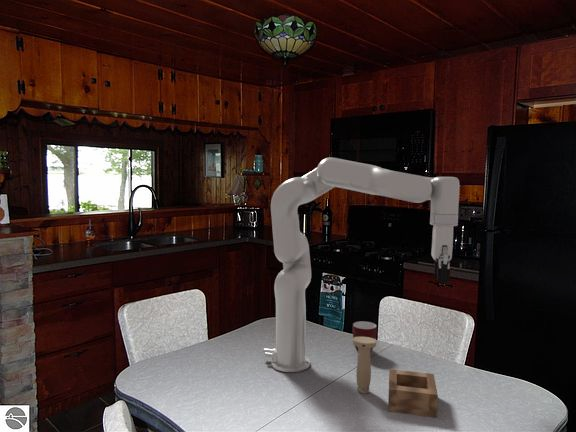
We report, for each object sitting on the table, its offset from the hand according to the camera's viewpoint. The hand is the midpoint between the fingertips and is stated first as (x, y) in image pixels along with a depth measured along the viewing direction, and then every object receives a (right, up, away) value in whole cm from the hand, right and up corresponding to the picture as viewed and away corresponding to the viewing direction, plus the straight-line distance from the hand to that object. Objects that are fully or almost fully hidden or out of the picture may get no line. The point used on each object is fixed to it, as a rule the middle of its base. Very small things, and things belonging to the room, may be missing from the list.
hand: (441, 278), depth 128 cm
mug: (-19, -29, +24) cm, 42 cm away
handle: (-23, -32, -4) cm, 40 cm away
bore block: (-11, -32, -10) cm, 35 cm away
